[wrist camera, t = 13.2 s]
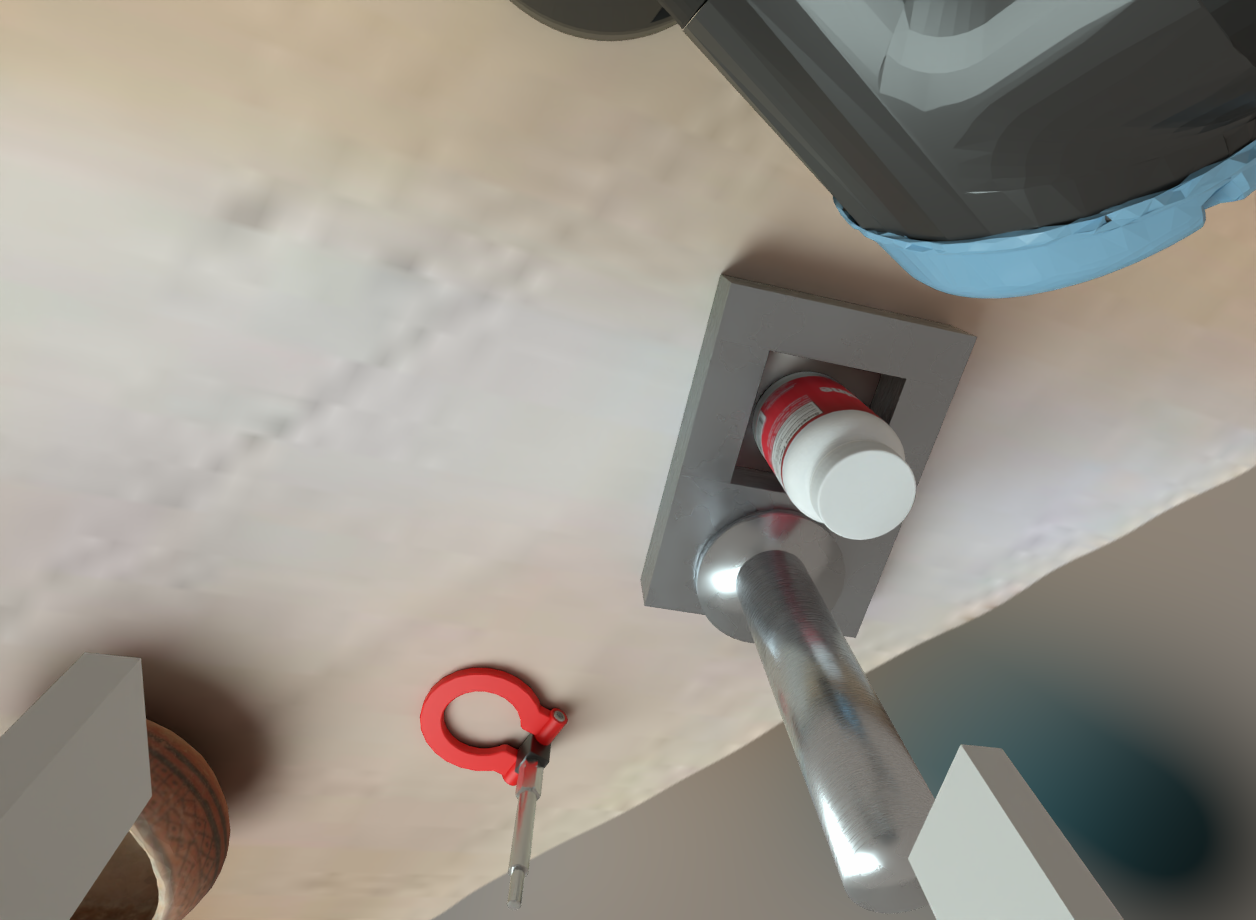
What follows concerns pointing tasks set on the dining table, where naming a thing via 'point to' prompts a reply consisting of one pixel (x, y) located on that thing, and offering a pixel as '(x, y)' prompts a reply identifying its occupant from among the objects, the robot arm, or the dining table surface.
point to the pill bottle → (834, 456)
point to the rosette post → (806, 559)
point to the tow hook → (499, 751)
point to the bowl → (165, 841)
